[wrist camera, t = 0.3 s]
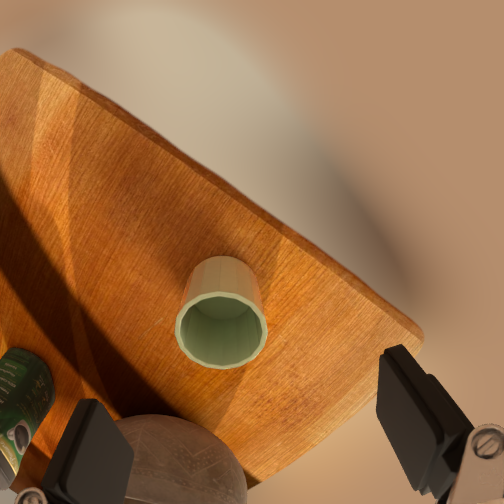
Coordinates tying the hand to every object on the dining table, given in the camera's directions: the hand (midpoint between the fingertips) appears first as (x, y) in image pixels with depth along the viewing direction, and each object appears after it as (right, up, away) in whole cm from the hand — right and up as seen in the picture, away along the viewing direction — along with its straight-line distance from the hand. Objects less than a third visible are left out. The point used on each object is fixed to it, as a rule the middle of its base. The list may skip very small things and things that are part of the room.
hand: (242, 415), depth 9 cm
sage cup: (-2, +2, +21) cm, 21 cm away
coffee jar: (-29, -11, +24) cm, 39 cm away
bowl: (-11, -20, +28) cm, 36 cm away
